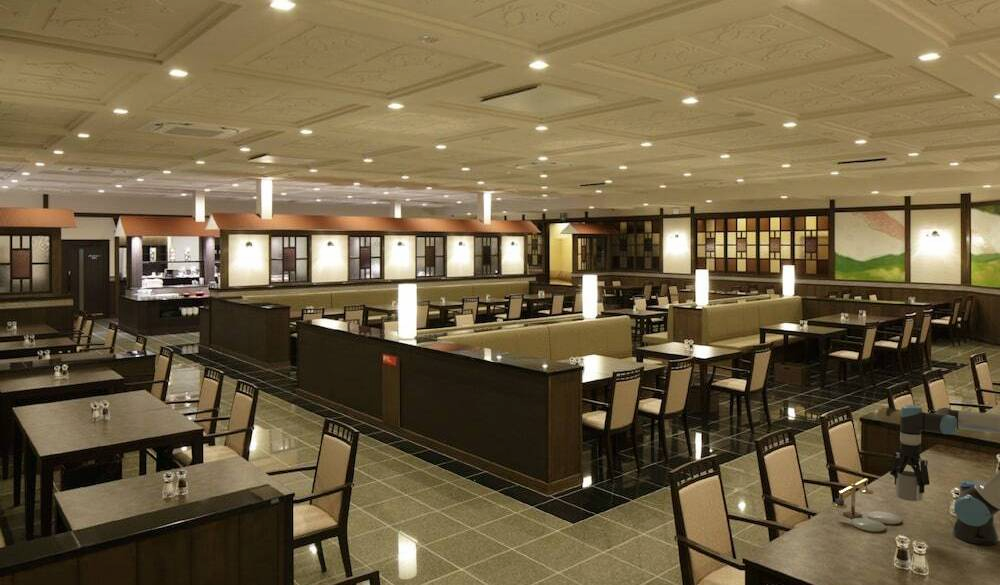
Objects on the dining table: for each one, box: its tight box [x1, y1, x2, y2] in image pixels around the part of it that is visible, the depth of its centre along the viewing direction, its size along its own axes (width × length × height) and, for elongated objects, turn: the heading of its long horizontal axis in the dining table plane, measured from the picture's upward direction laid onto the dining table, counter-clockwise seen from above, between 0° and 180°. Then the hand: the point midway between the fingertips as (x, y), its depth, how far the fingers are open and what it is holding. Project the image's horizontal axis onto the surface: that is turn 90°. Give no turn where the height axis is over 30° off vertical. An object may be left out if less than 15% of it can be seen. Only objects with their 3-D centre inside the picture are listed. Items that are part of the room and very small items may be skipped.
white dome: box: [867, 510, 903, 525], centre depth 299 cm, size 13×13×1 cm
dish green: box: [850, 517, 886, 533], centre depth 291 cm, size 13×13×1 cm
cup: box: [896, 470, 918, 502], centre depth 283 cm, size 8×8×10 cm
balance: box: [832, 477, 875, 520], centre depth 302 cm, size 22×6×16 cm, turn 113°
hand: (908, 496), depth 284 cm, fingers closed on cup, 8 cm apart
